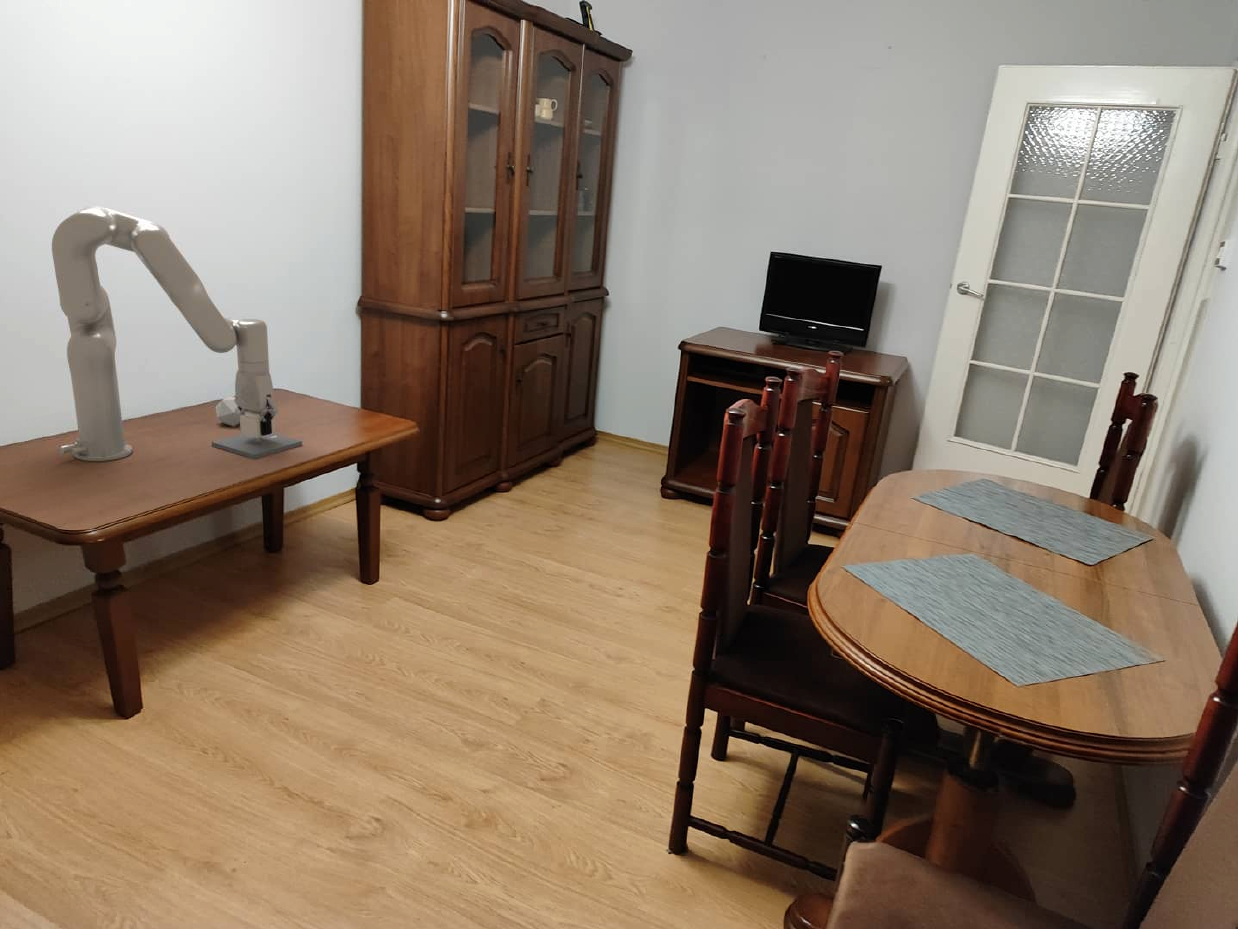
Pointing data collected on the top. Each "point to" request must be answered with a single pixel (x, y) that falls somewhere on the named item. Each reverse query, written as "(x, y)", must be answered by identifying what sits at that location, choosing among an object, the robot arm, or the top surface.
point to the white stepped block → (253, 424)
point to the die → (228, 411)
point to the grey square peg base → (256, 445)
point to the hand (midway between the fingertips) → (257, 431)
